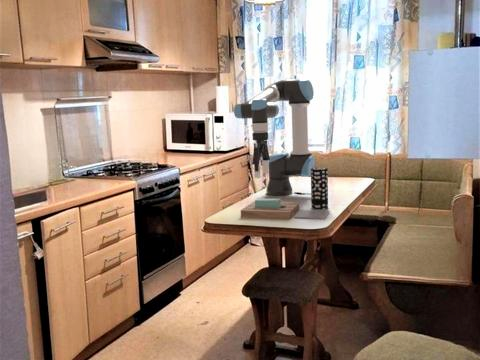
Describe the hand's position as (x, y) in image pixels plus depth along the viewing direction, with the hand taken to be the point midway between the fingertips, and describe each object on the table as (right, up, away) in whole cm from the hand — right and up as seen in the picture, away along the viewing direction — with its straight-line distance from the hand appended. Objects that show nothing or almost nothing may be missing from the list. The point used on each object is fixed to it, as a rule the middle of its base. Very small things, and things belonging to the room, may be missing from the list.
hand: (261, 175), depth 249 cm
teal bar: (+3, -16, +2) cm, 17 cm away
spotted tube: (+30, -16, +10) cm, 35 cm away
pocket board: (+5, -18, +2) cm, 19 cm away
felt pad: (+24, -19, -5) cm, 31 cm away
